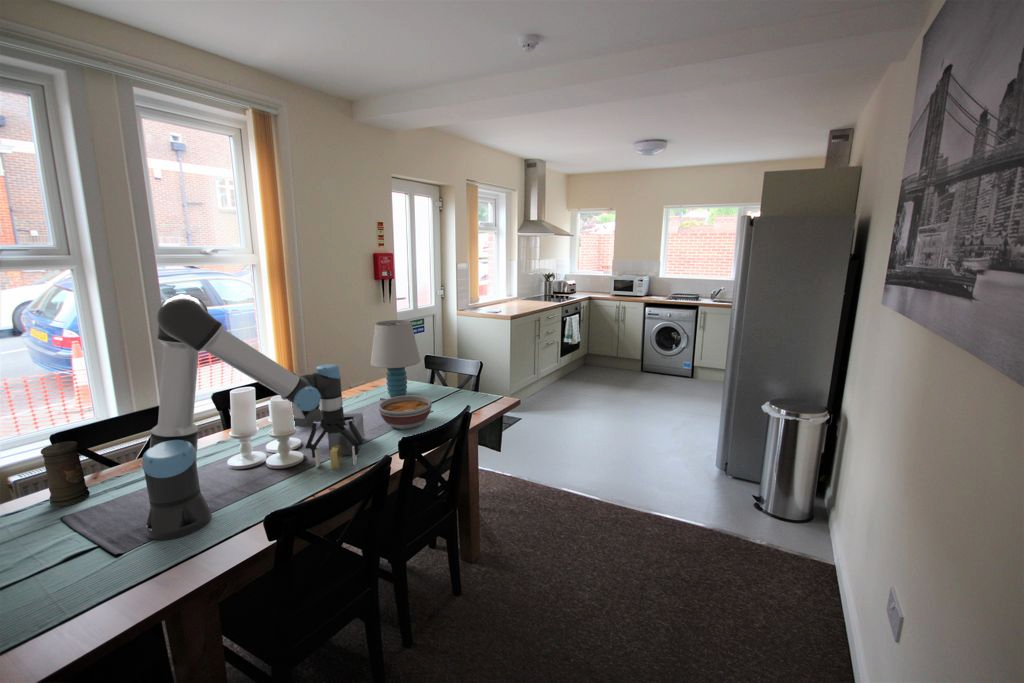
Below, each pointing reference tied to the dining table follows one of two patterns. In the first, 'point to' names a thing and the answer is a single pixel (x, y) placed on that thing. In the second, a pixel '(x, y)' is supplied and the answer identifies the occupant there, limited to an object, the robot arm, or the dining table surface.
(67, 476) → the container
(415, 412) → the bowl
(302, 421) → the alarm clock
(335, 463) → the block
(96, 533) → the dining table surface
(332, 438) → the box
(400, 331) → the lamp
